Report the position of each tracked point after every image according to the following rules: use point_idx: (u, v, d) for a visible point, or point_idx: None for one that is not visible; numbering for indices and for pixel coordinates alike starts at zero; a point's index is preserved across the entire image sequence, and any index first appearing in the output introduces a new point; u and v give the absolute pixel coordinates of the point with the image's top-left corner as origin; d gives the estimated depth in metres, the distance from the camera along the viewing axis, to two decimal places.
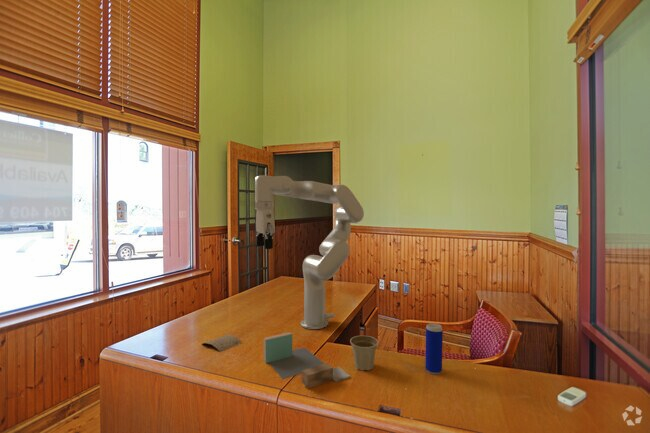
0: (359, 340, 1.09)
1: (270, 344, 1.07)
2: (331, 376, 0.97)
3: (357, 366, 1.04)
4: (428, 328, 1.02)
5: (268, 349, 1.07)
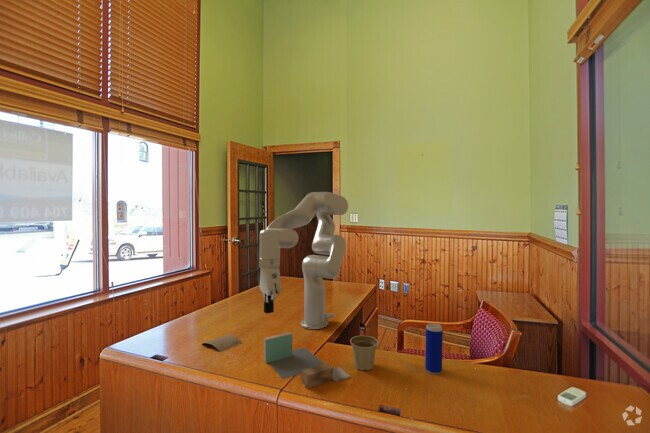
0: (359, 340, 1.09)
1: (270, 344, 1.07)
2: (331, 376, 0.97)
3: (357, 366, 1.04)
4: (428, 328, 1.02)
5: (268, 349, 1.07)
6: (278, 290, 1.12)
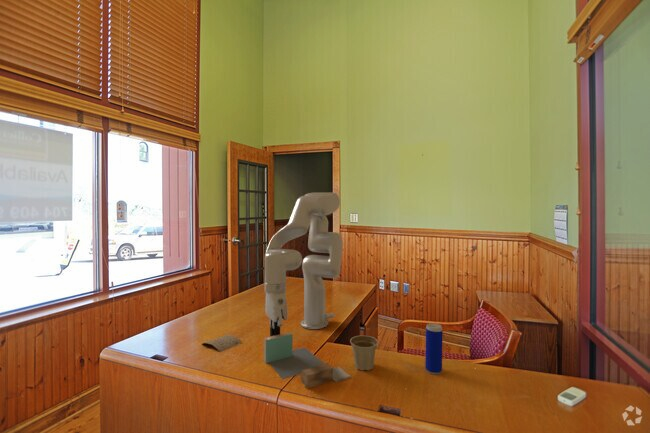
0: (359, 340, 1.09)
1: (270, 344, 1.07)
2: (331, 376, 0.97)
3: (357, 366, 1.04)
4: (428, 328, 1.02)
5: (268, 349, 1.07)
6: (285, 316, 1.08)
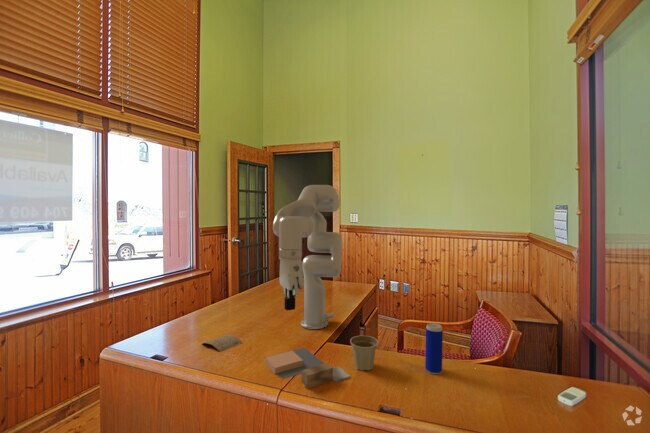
0: (359, 340, 1.09)
1: None
2: (331, 376, 0.97)
3: (357, 366, 1.04)
4: (428, 328, 1.02)
5: None
6: (300, 284, 1.00)
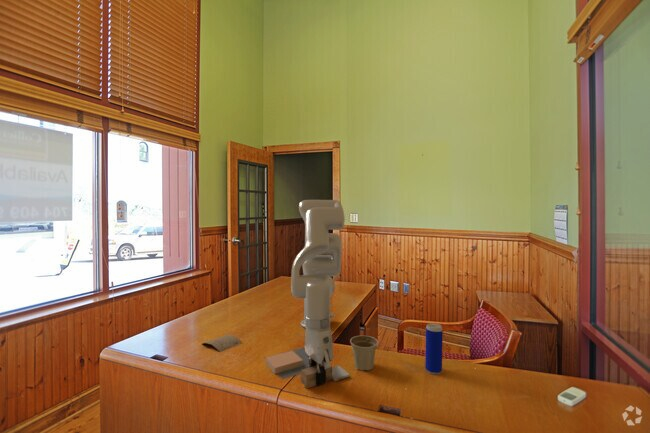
0: (359, 340, 1.09)
1: None
2: (330, 375, 0.97)
3: (357, 366, 1.04)
4: (428, 328, 1.02)
5: None
6: (330, 357, 0.93)
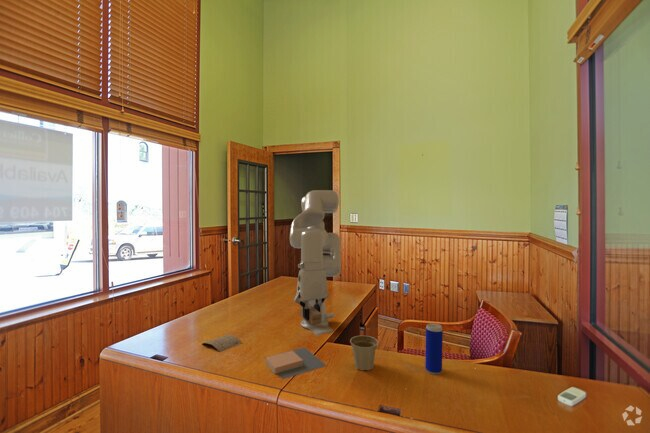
0: (359, 340, 1.09)
1: None
2: (311, 322, 1.06)
3: (357, 366, 1.04)
4: (428, 328, 1.02)
5: None
6: (300, 295, 1.05)
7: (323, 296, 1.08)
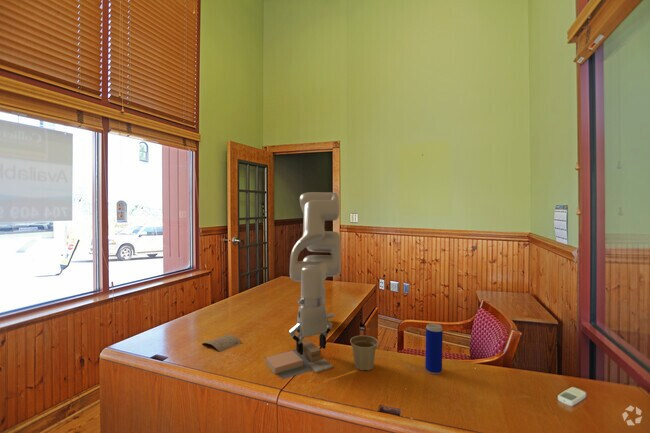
0: (359, 340, 1.09)
1: None
2: (311, 359, 1.06)
3: (357, 366, 1.04)
4: (428, 328, 1.02)
5: None
6: (300, 331, 1.06)
7: (323, 331, 1.09)
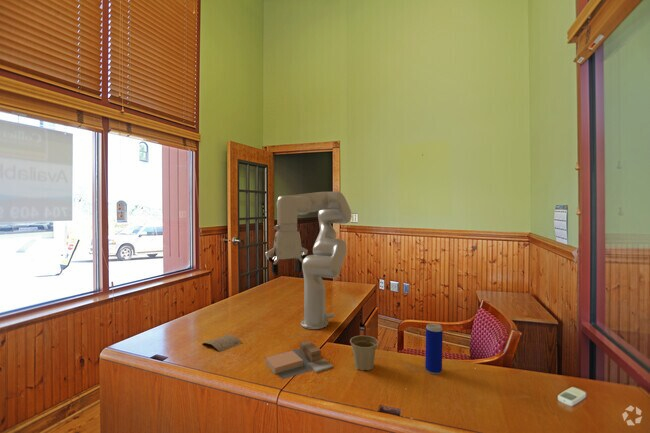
0: (359, 340, 1.09)
1: None
2: (311, 359, 1.06)
3: (357, 366, 1.04)
4: (428, 328, 1.02)
5: None
6: (276, 254, 1.15)
7: (297, 256, 1.18)
